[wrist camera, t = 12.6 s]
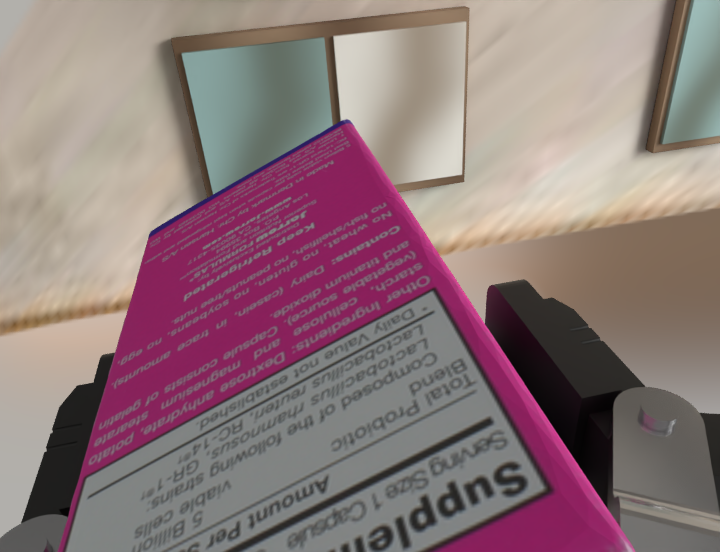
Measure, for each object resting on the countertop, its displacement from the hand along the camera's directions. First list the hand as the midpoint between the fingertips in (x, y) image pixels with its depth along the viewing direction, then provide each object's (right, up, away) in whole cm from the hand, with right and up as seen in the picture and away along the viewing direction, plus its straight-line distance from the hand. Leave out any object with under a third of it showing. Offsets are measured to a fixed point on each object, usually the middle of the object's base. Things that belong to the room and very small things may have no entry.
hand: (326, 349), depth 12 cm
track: (+7, +10, +15) cm, 20 cm away
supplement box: (-1, +2, +3) cm, 4 cm away
